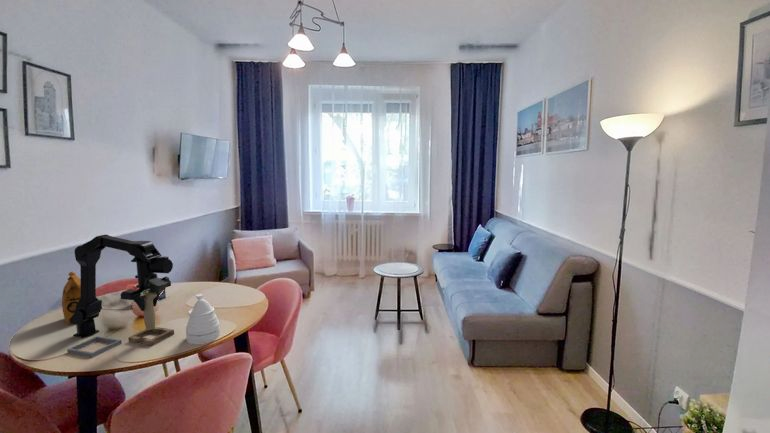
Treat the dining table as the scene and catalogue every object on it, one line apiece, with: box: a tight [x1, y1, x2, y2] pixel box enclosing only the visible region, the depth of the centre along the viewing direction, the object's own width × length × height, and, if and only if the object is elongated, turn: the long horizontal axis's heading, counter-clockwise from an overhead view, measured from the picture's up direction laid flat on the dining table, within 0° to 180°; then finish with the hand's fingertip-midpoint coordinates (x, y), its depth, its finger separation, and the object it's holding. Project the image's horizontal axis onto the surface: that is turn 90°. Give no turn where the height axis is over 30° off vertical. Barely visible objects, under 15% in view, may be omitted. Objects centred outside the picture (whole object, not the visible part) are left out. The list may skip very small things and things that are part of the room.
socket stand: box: [128, 326, 175, 347], centre depth 153 cm, size 12×11×2 cm
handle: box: [143, 293, 157, 330], centre depth 151 cm, size 5×6×15 cm
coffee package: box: [61, 271, 81, 325], centre depth 170 cm, size 10×12×22 cm
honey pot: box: [185, 293, 221, 345], centre depth 153 cm, size 13×13×18 cm
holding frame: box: [66, 335, 122, 358], centre depth 144 cm, size 13×12×2 cm
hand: (148, 308), depth 151 cm, fingers closed on handle, 5 cm apart
